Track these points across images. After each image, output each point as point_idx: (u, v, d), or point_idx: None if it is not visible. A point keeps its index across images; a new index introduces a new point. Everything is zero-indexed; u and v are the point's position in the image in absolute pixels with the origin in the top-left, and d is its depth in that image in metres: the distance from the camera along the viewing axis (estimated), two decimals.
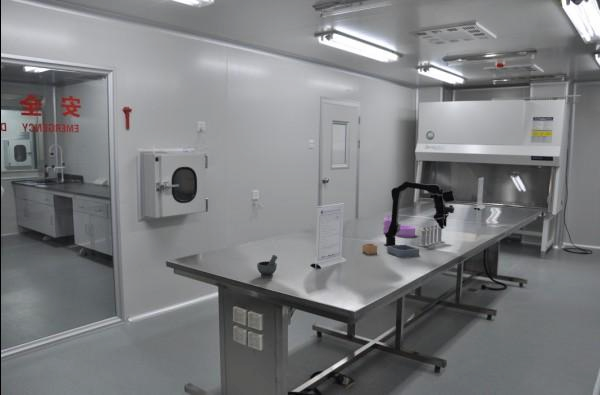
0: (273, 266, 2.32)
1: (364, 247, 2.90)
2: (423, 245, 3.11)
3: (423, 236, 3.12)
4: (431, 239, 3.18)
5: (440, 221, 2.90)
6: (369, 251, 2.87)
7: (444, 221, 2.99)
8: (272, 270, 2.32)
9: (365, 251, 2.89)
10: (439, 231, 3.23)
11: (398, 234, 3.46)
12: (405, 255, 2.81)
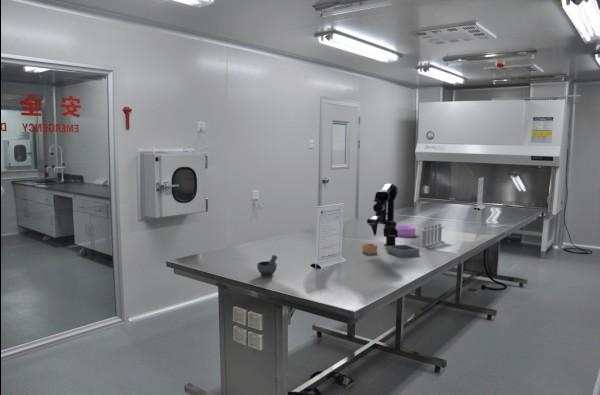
0: (273, 266, 2.32)
1: (364, 247, 2.90)
2: (424, 245, 3.11)
3: (424, 236, 3.12)
4: (431, 239, 3.18)
5: None
6: (369, 251, 2.87)
7: None
8: (272, 270, 2.32)
9: (365, 251, 2.89)
10: (439, 231, 3.23)
11: (398, 234, 3.45)
12: (405, 255, 2.81)
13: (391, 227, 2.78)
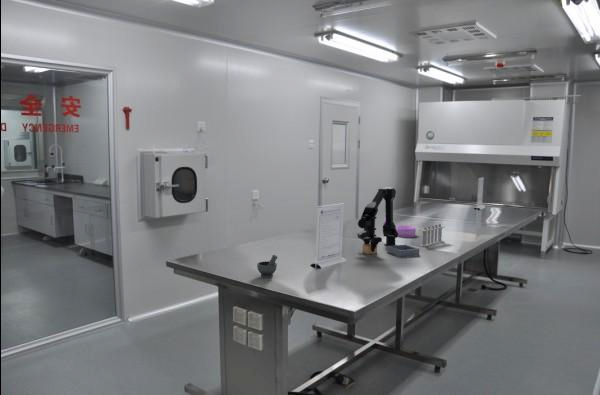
0: (273, 266, 2.32)
1: (364, 247, 2.90)
2: (424, 245, 3.11)
3: (424, 236, 3.12)
4: (432, 239, 3.18)
5: None
6: (369, 251, 2.87)
7: None
8: (272, 270, 2.32)
9: (365, 251, 2.89)
10: (439, 231, 3.23)
11: (399, 234, 3.44)
12: (405, 255, 2.81)
13: (375, 242, 2.84)
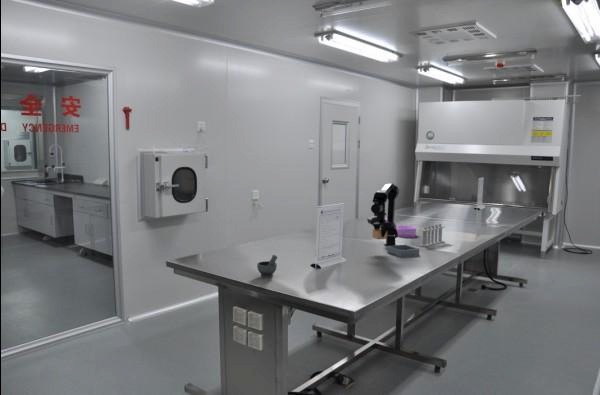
0: (273, 266, 2.32)
1: (374, 232, 2.89)
2: (424, 245, 3.11)
3: (424, 236, 3.12)
4: (432, 239, 3.18)
5: None
6: (379, 236, 2.86)
7: None
8: (272, 270, 2.32)
9: (375, 236, 2.88)
10: (439, 231, 3.23)
11: (400, 234, 3.44)
12: (405, 255, 2.81)
13: (385, 227, 2.82)
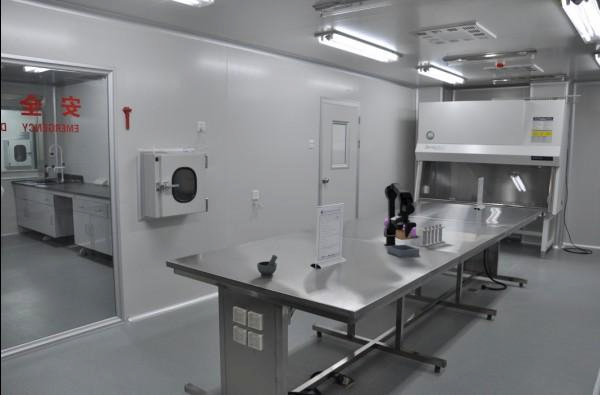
0: (273, 266, 2.32)
1: (397, 233, 2.87)
2: (424, 245, 3.11)
3: (424, 236, 3.12)
4: (432, 239, 3.18)
5: None
6: (403, 237, 2.84)
7: None
8: (272, 270, 2.32)
9: (399, 237, 2.86)
10: (440, 231, 3.23)
11: None
12: (405, 255, 2.81)
13: None
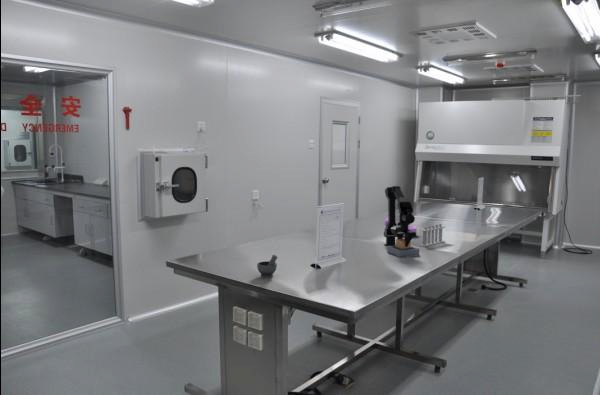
0: (273, 266, 2.32)
1: (397, 242, 2.88)
2: (424, 245, 3.11)
3: (424, 236, 3.12)
4: (432, 239, 3.18)
5: None
6: (403, 246, 2.84)
7: None
8: (272, 270, 2.32)
9: (399, 246, 2.87)
10: (440, 231, 3.23)
11: None
12: (405, 255, 2.81)
13: (409, 237, 2.81)
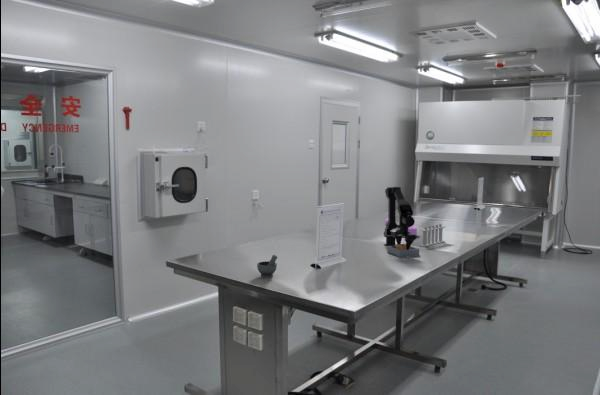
0: (273, 266, 2.32)
1: (397, 247, 2.88)
2: (424, 245, 3.11)
3: (424, 236, 3.12)
4: (432, 239, 3.18)
5: None
6: None
7: None
8: (272, 270, 2.32)
9: None
10: (440, 231, 3.23)
11: None
12: (405, 255, 2.81)
13: (410, 240, 2.80)
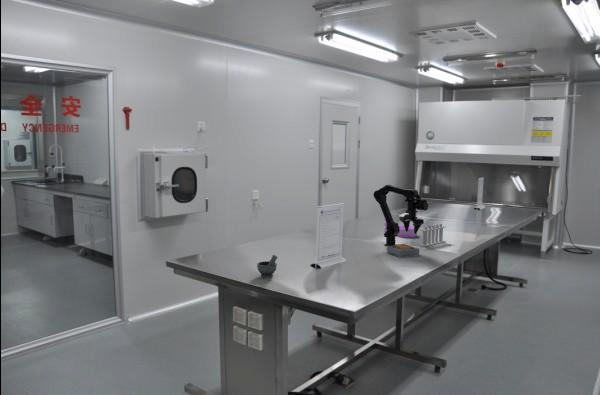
0: (273, 266, 2.32)
1: (397, 247, 2.88)
2: (424, 245, 3.11)
3: (424, 236, 3.13)
4: (432, 239, 3.18)
5: None
6: None
7: None
8: (272, 270, 2.32)
9: None
10: (440, 231, 3.24)
11: (401, 235, 3.43)
12: (405, 255, 2.81)
13: (418, 224, 2.92)
